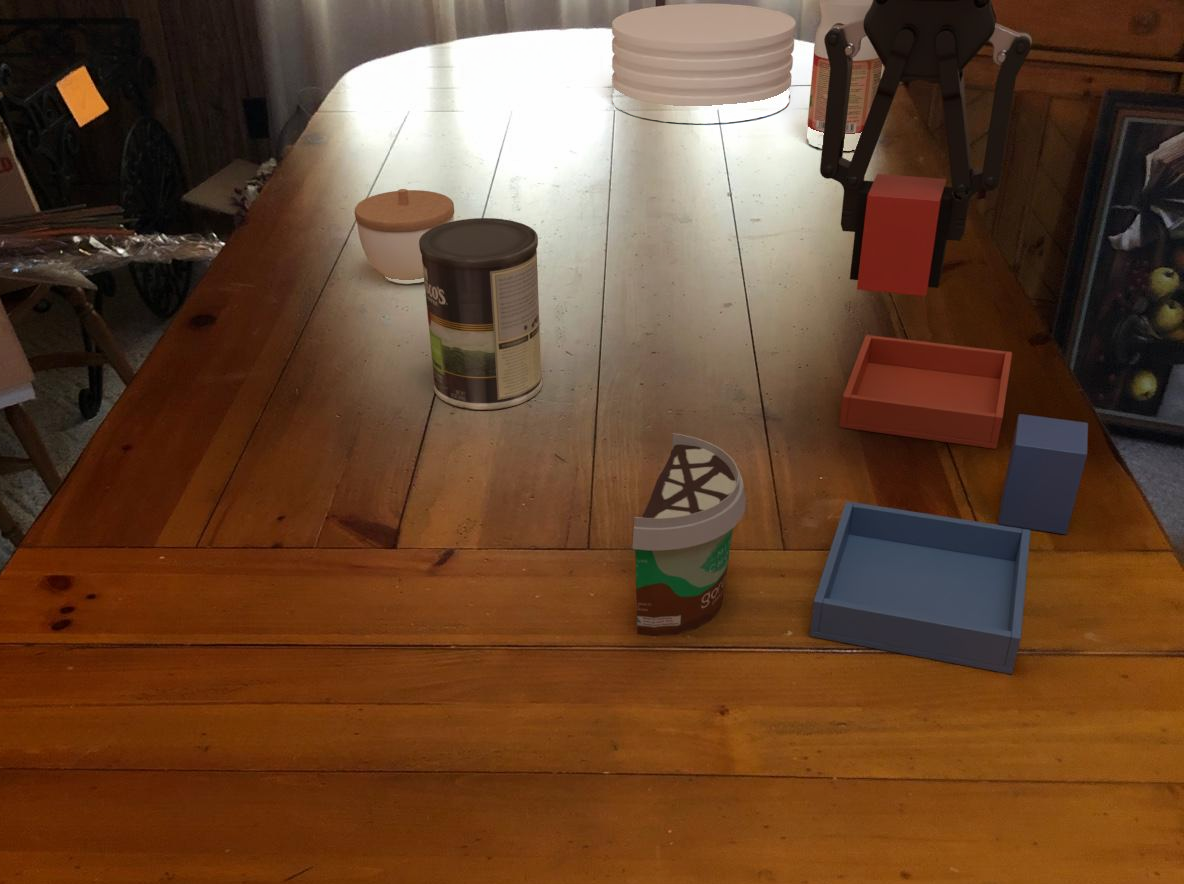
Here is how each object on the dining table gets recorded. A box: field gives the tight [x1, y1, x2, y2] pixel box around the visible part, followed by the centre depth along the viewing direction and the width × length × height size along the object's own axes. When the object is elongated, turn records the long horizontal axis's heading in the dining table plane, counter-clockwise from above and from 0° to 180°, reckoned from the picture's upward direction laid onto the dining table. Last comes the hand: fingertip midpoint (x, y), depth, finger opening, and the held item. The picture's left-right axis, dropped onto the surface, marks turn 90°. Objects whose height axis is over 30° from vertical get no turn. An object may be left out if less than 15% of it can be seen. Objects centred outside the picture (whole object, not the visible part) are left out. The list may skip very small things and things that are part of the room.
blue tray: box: [809, 501, 1032, 675], centre depth 85 cm, size 13×13×3 cm
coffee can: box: [419, 217, 544, 411], centre depth 110 cm, size 10×10×14 cm
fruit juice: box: [807, 0, 883, 134], centre depth 165 cm, size 9×9×28 cm
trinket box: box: [354, 188, 455, 280], centre depth 134 cm, size 11×11×9 cm
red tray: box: [838, 334, 1013, 450], centre depth 108 cm, size 13×13×3 cm
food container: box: [632, 432, 747, 636], centre depth 83 cm, size 12×6×10 cm, turn 164°
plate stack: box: [611, 3, 797, 106], centre depth 190 cm, size 28×28×12 cm
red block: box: [856, 173, 947, 297], centre depth 89 cm, size 5×5×7 cm
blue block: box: [997, 413, 1089, 536], centre depth 92 cm, size 5×5×7 cm
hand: (895, 276), depth 91 cm, fingers closed on red block, 5 cm apart
